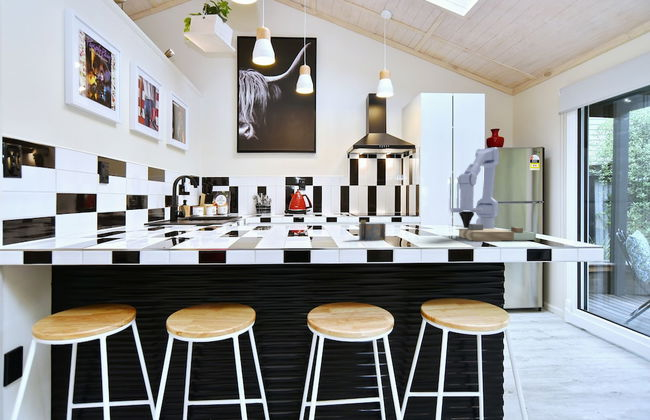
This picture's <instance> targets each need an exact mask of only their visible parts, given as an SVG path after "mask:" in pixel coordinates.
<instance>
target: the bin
mask: <svg viewBox="0 0 650 420" xmlns="http://www.w3.org/2000/svg"><path fill="white" fill-rule="evenodd" d="M505 230H506V231H511V229H505ZM514 240H534V241H533V242H536V241H537V233H536V232H533V231H532V232H531V231H525V230H523V233H514Z"/></svg>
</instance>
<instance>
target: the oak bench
mask: <svg viewBox="0 0 650 420" xmlns="http://www.w3.org/2000/svg"><path fill="white" fill-rule="evenodd" d="M506 230H507V229H500V228H494V229H483V230H471V229H468V228H459V229H458V238H461V237H462V239H465V238H466V239H465V240H469V241H472V240H473V242H482V241H483V242H502V241H501V240H514V232H512V231H506Z"/></svg>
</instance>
